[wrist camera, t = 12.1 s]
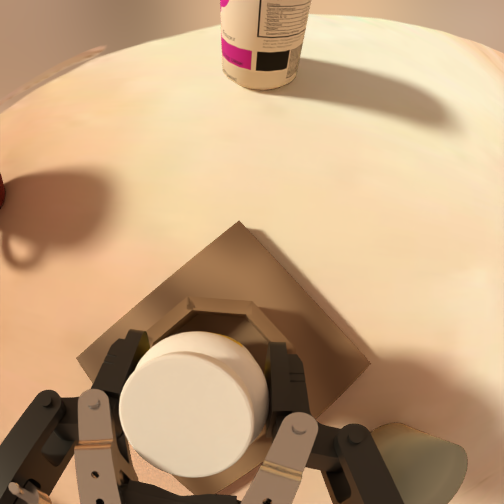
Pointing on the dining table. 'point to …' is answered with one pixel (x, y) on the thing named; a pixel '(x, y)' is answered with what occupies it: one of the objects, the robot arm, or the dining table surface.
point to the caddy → (242, 328)
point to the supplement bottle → (194, 404)
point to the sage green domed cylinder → (421, 463)
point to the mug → (1, 191)
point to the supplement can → (262, 41)
